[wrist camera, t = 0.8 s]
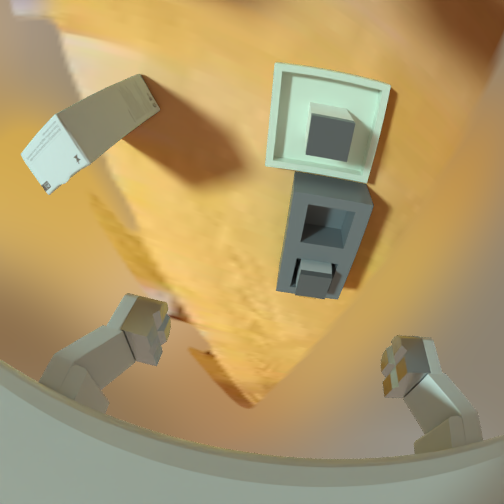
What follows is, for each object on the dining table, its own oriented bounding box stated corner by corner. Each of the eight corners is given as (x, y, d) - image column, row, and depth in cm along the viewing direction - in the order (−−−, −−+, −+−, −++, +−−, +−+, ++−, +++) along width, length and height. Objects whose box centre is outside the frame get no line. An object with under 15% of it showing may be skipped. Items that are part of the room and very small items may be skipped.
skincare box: (140, 72, 28) (56, 106, 17) (163, 111, 31) (91, 164, 20) (95, 105, 31) (16, 153, 20) (116, 140, 35) (46, 199, 24)
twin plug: (302, 242, 40) (300, 274, 36) (330, 247, 40) (332, 278, 35) (297, 263, 43) (295, 295, 38) (323, 267, 43) (324, 299, 38)
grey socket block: (294, 171, 34) (293, 194, 30) (366, 184, 34) (374, 208, 30) (279, 266, 45) (275, 294, 41) (336, 274, 44) (337, 302, 40)
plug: (309, 101, 28) (311, 115, 24) (346, 108, 28) (355, 123, 23) (305, 135, 31) (305, 154, 26) (339, 141, 30) (346, 162, 26)
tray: (276, 61, 26) (274, 63, 25) (386, 83, 25) (390, 85, 24) (266, 159, 34) (265, 166, 33) (364, 176, 33) (366, 183, 32)
